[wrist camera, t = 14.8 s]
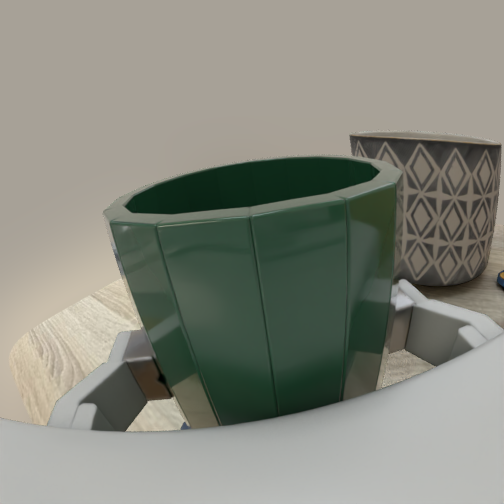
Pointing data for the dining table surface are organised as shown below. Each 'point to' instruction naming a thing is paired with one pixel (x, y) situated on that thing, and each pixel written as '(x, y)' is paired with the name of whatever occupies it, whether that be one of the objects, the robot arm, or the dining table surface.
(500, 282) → the smartphone
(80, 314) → the dining table surface
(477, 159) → the planter
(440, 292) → the dining table surface
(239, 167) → the slim cup
